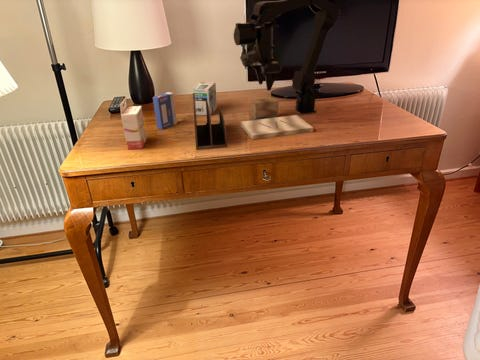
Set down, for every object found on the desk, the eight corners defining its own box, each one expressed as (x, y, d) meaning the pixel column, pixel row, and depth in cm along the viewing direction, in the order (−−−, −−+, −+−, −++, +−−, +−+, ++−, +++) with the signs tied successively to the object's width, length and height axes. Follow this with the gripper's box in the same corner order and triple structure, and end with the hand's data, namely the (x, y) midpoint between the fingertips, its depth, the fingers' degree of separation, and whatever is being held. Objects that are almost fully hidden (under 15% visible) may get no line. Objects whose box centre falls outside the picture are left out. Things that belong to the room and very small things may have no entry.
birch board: (296, 118, 131) (296, 114, 130) (312, 131, 119) (313, 127, 119) (241, 125, 126) (240, 121, 125) (252, 139, 114) (252, 135, 114)
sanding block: (273, 115, 136) (274, 97, 132) (277, 118, 132) (278, 100, 129) (252, 117, 134) (251, 100, 130) (255, 121, 130) (255, 103, 127)
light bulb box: (210, 116, 137) (208, 88, 131) (194, 115, 138) (191, 88, 133) (217, 107, 146) (215, 82, 141) (202, 107, 147) (200, 81, 142)
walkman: (162, 129, 125) (157, 97, 119) (157, 128, 126) (152, 96, 120) (177, 123, 130) (174, 92, 124) (172, 122, 132) (168, 90, 126)
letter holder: (196, 150, 108) (191, 107, 102) (194, 128, 126) (190, 89, 119) (227, 148, 110) (225, 104, 103) (221, 126, 127) (219, 88, 120)
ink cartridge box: (143, 149, 110) (135, 104, 103) (127, 150, 110) (118, 105, 103) (147, 138, 118) (140, 96, 110) (132, 139, 117) (124, 97, 110)
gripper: (235, 40, 126) (237, 83, 133) (249, 48, 110) (251, 96, 118) (263, 38, 128) (264, 80, 136) (282, 45, 112) (281, 92, 120)
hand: (264, 87), depth 127 cm, fingers open, 9 cm apart
